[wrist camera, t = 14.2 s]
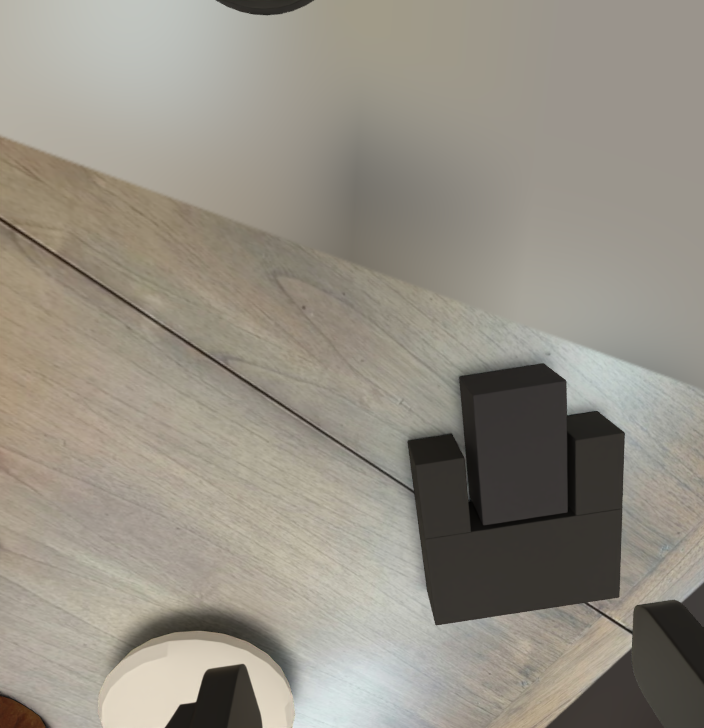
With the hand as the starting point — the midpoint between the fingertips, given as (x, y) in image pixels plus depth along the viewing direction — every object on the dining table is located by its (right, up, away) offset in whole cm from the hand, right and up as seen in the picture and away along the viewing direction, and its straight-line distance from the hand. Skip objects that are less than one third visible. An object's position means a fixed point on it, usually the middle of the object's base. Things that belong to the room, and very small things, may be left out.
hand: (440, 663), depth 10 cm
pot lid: (-15, -21, +32) cm, 41 cm away
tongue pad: (+9, +1, +26) cm, 27 cm away
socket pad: (+10, -5, +28) cm, 30 cm away
